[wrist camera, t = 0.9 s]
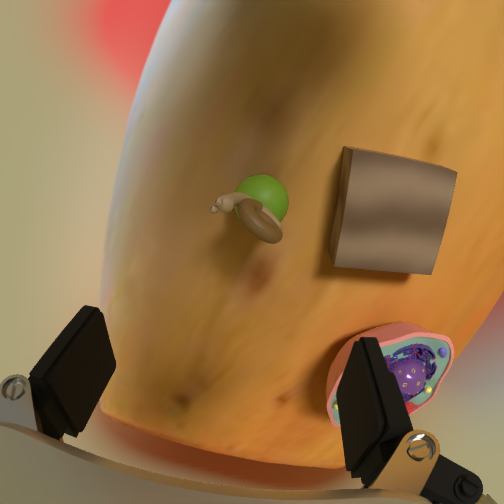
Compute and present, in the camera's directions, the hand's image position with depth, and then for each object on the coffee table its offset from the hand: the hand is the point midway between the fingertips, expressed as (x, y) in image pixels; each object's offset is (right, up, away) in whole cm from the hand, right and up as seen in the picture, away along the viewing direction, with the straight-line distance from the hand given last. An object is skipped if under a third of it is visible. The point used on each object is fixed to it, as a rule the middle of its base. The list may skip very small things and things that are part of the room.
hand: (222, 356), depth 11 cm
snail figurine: (+2, +10, +22) cm, 25 cm away
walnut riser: (+16, +9, +21) cm, 28 cm away
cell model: (+19, -11, +30) cm, 37 cm away
